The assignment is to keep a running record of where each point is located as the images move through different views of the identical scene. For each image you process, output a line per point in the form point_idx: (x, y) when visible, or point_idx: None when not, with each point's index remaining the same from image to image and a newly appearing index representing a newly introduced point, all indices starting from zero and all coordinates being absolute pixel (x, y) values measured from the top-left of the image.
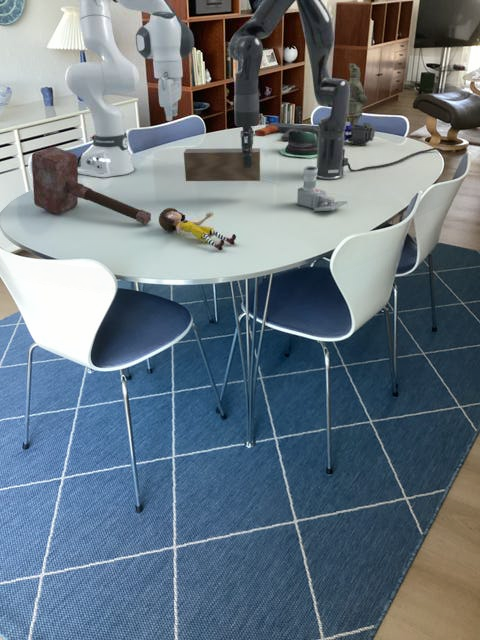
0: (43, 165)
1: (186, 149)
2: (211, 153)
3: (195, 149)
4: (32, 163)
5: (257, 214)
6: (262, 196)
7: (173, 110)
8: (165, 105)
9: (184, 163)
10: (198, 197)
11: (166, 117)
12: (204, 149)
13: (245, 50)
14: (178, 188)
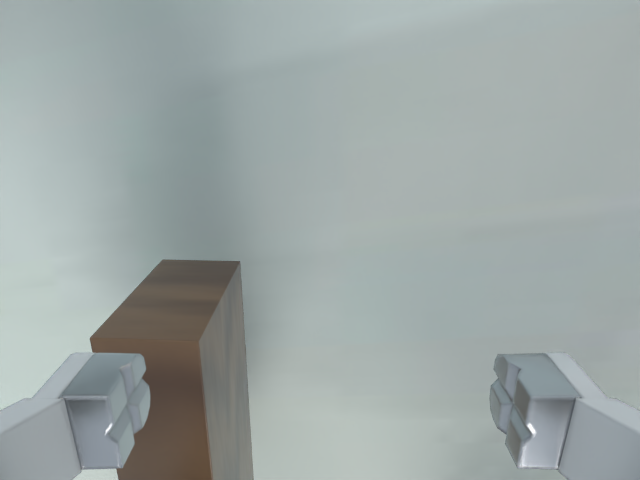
0: None
1: (181, 345)
2: (120, 477)
3: (185, 397)
4: None
5: None
6: (289, 460)
7: (548, 426)
8: None
9: (124, 302)
10: (270, 257)
11: (53, 377)
12: (189, 445)
13: None
14: (402, 154)
